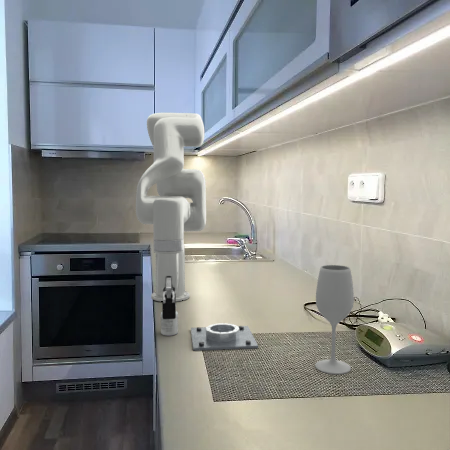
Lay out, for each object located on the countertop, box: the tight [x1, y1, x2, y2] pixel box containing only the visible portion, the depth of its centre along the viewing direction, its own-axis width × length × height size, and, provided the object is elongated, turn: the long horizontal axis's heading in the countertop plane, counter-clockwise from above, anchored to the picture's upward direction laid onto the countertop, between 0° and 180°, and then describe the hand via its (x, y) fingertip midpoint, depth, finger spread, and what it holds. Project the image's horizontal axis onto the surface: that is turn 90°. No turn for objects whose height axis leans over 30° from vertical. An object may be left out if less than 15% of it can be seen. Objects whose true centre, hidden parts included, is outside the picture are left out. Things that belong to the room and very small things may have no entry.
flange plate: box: [190, 325, 259, 351], centre depth 114 cm, size 15×15×1 cm
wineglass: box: [314, 264, 355, 375], centre depth 95 cm, size 8×8×21 cm
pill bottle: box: [160, 310, 179, 336], centre depth 118 cm, size 4×4×8 cm
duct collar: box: [205, 322, 239, 342], centre depth 114 cm, size 8×8×2 cm
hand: (169, 313), depth 117 cm, fingers open, 9 cm apart
